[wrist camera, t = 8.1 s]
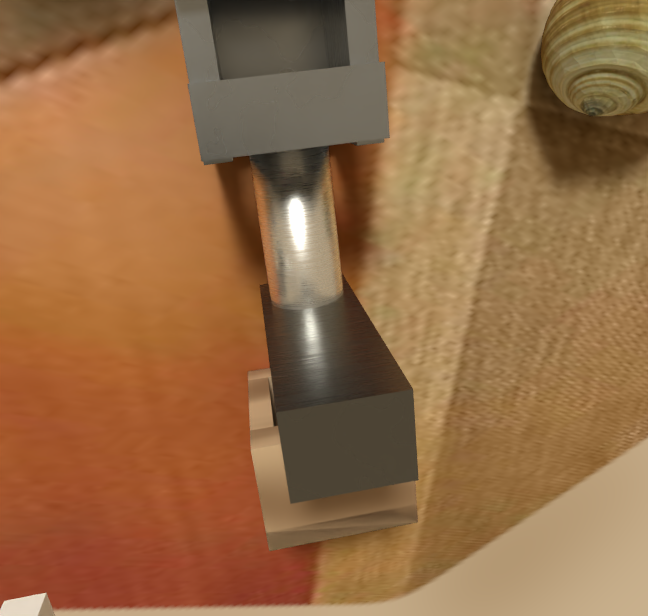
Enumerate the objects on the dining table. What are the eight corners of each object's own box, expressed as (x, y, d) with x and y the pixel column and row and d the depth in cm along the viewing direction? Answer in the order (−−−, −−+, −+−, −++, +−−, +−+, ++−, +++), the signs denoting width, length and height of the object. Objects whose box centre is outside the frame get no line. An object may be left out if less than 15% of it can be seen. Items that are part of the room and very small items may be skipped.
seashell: (603, -39, 29) (613, -178, 22) (762, -18, 26) (836, -169, 19) (523, 141, 30) (507, 65, 22) (670, 181, 27) (706, 109, 19)
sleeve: (169, -88, 22) (142, -164, 16) (332, -101, 23) (369, -180, 16) (211, 151, 25) (202, 167, 19) (352, 133, 26) (390, 143, 19)
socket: (247, 371, 29) (250, 449, 23) (373, 351, 30) (411, 421, 23) (262, 456, 31) (269, 551, 24) (380, 435, 32) (417, 522, 25)
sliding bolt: (234, 123, 25) (232, 142, 13) (325, 112, 25) (397, 122, 14) (282, 429, 30) (309, 622, 19) (356, 416, 30) (425, 598, 19)
